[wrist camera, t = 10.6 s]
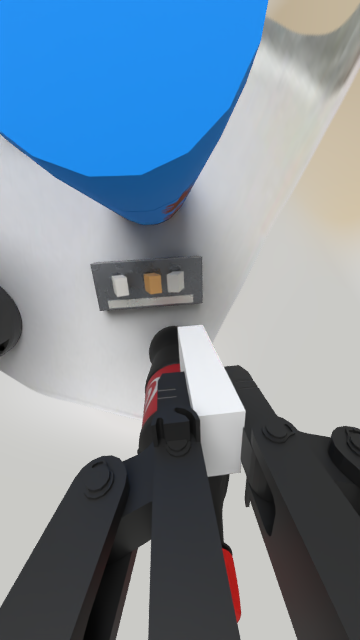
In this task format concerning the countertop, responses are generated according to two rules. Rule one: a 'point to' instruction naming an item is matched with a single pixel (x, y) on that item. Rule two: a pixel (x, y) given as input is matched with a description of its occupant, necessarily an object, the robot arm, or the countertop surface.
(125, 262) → the breaker panel
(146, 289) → the block
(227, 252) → the countertop surface
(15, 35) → the thermos
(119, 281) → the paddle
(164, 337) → the cola bottle
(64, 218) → the countertop surface
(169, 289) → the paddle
